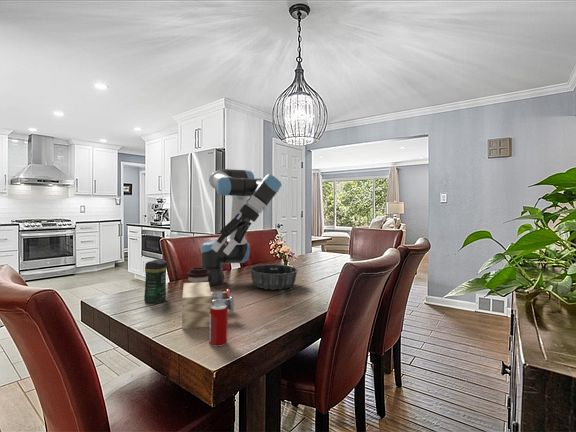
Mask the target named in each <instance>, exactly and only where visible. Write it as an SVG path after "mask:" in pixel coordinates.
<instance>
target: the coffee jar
mask: <svg viewBox="0 0 576 432" xmlns="http://www.w3.org/2000/svg"><path fill="white" fill-rule="evenodd" d="M167 270H168V269H167V261H166V260H165V259H158V258H156V259H154V260H150V261H147V262H146V263H145V266H144V272H145V281H144V285H145V286H144V295H143V296H144V298H143V299H144V302H145V303H146V304H147V303H148V304H156V303H157V304H159V303H160V302H163V301H164V300H166V298H167V283H166V282H167V281H166V280H167V278H166V276H167Z"/></svg>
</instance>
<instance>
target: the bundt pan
mask: <svg viewBox="0 0 576 432" xmlns="http://www.w3.org/2000/svg"><path fill="white" fill-rule="evenodd" d="M249 270H250V274H251V280H252V284H253V285H254V286H255V287H257V288H259V289H262V288H263V289H265V290H266V291H267V289H268V290H271V291H275V290H278V291H281V290H287V289H290V288H292V287H293V286H294V284H295V282H296V279H297V274H298V272H299V269H298V268H297V267H294V266H292V265H285V264H268V263H267V264H258V265H254V266H253V265H252V267H250V268H249Z"/></svg>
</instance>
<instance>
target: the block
mask: <svg viewBox="0 0 576 432" xmlns="http://www.w3.org/2000/svg"><path fill="white" fill-rule="evenodd" d="M211 292H212V291H211V285H209V282H197V283H188V282H183V288H182V303H181V304H182V305H181V306H182V308H181V309H182V310H181V315H182V316H181V329H182V330H185V329H186V330H187V329H198V328H209V319H210V309H211V306H212V294H211Z"/></svg>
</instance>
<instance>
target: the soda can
mask: <svg viewBox="0 0 576 432" xmlns="http://www.w3.org/2000/svg"><path fill="white" fill-rule="evenodd" d="M228 312H229V310H227V306H226V305H224V304H215V305H212V306H211V309H210V319H209V327H208V329H209V333H208V336H209V337H208V343H209V345H210V346H212V347H214V348H215V347H216V348H217V347H218V346H219V347H223V346H225V344H227V342H228Z"/></svg>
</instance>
